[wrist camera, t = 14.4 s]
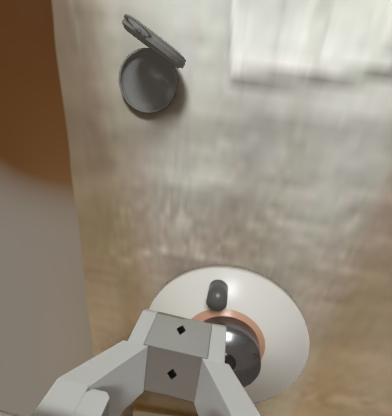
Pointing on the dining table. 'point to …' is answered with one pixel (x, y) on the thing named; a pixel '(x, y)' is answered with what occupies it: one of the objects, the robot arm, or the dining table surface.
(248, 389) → the turntable
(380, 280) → the dining table surface
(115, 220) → the dining table surface
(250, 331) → the cover
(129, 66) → the pocket watch
